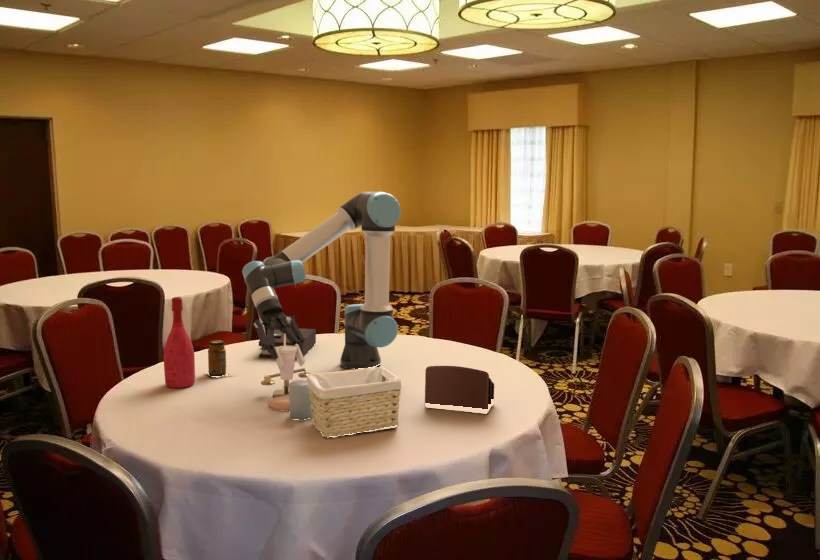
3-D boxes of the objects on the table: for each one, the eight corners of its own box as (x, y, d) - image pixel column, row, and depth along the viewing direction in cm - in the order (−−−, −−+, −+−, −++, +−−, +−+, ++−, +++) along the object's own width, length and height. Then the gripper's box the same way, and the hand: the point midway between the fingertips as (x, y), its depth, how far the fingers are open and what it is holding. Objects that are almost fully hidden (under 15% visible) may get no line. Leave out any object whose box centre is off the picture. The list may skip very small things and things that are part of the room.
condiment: (222, 370, 258) (221, 338, 257) (233, 376, 252) (232, 342, 250) (203, 374, 254) (202, 341, 252) (213, 379, 247) (212, 345, 246)
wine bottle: (201, 383, 243) (198, 296, 239) (181, 390, 234) (177, 300, 230) (179, 379, 247) (175, 293, 243) (158, 386, 238) (154, 298, 234)
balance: (312, 392, 234) (312, 366, 233) (311, 396, 229) (311, 370, 228) (262, 392, 234) (261, 366, 232) (259, 397, 229) (259, 370, 227)
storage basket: (320, 442, 192) (319, 388, 189) (305, 422, 206) (304, 372, 204) (403, 430, 200) (403, 379, 198) (383, 412, 215) (383, 365, 213)
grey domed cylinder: (314, 412, 215) (314, 380, 213) (312, 420, 208) (312, 387, 206) (291, 412, 214) (290, 380, 213) (288, 420, 207) (287, 387, 206)
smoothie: (277, 375, 223) (276, 331, 221) (298, 375, 224) (297, 331, 222) (275, 381, 217) (274, 336, 215) (296, 381, 217) (296, 336, 215)
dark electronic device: (319, 325, 301) (303, 342, 272) (319, 343, 302) (303, 361, 273) (274, 324, 303) (253, 341, 273) (275, 342, 304) (254, 360, 275)
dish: (310, 398, 228) (310, 394, 228) (306, 410, 216) (306, 406, 216) (272, 398, 227) (272, 394, 227) (266, 410, 215) (266, 406, 215)
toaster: (487, 415, 214) (488, 370, 212) (424, 408, 220) (424, 364, 218) (494, 405, 223) (495, 361, 221) (433, 399, 229) (433, 356, 227)
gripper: (290, 308, 235) (315, 367, 225) (235, 314, 224) (259, 377, 213) (298, 294, 230) (324, 354, 220) (242, 300, 219) (267, 363, 208)
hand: (292, 365), depth 217 cm, fingers closed on smoothie, 6 cm apart
